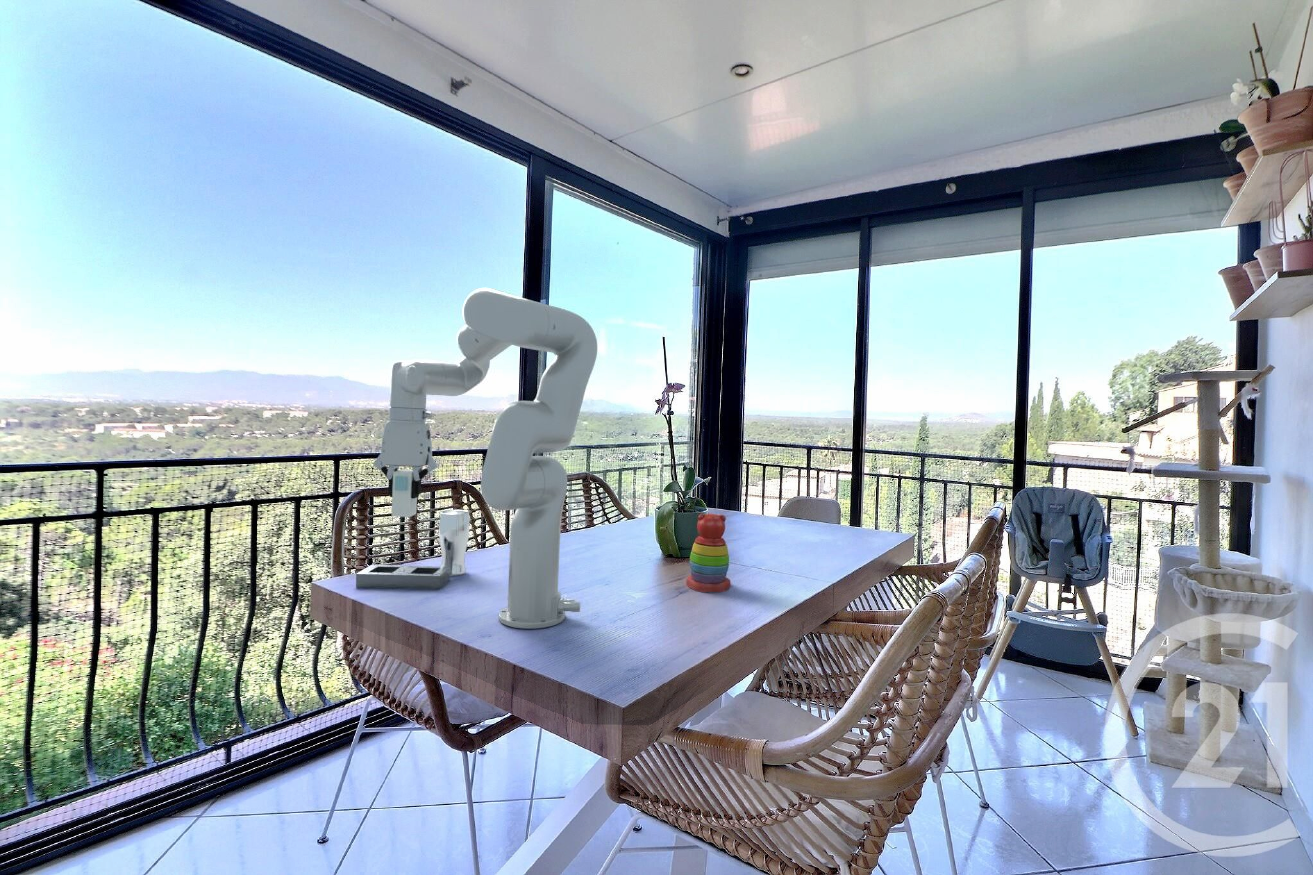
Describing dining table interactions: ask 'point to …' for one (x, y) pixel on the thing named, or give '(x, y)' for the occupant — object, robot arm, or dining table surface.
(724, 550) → the stacking bear
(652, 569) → the dining table surface
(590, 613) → the dining table surface
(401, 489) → the plug
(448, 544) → the beer glass
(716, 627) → the dining table surface
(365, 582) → the panel
